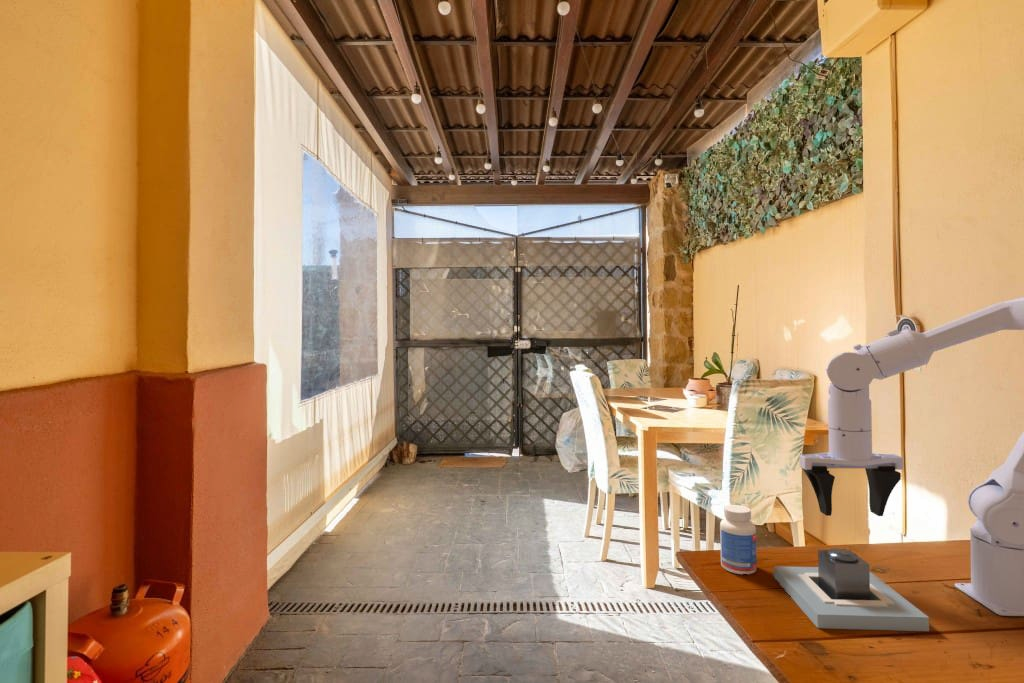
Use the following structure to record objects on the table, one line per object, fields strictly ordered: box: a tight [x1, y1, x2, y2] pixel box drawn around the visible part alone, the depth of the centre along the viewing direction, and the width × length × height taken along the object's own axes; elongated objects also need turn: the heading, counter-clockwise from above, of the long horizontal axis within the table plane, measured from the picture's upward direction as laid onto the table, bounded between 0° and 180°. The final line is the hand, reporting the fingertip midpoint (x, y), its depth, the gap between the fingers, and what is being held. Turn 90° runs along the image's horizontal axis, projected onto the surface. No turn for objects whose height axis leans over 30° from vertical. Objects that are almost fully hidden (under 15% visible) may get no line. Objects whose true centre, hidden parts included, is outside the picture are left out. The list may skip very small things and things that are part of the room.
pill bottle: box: [719, 504, 758, 575], centre depth 83 cm, size 6×5×10 cm
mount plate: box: [773, 565, 930, 632], centre depth 72 cm, size 14×14×2 cm
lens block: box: [817, 548, 871, 600], centre depth 72 cm, size 4×4×7 cm
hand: (851, 513), depth 80 cm, fingers open, 7 cm apart
